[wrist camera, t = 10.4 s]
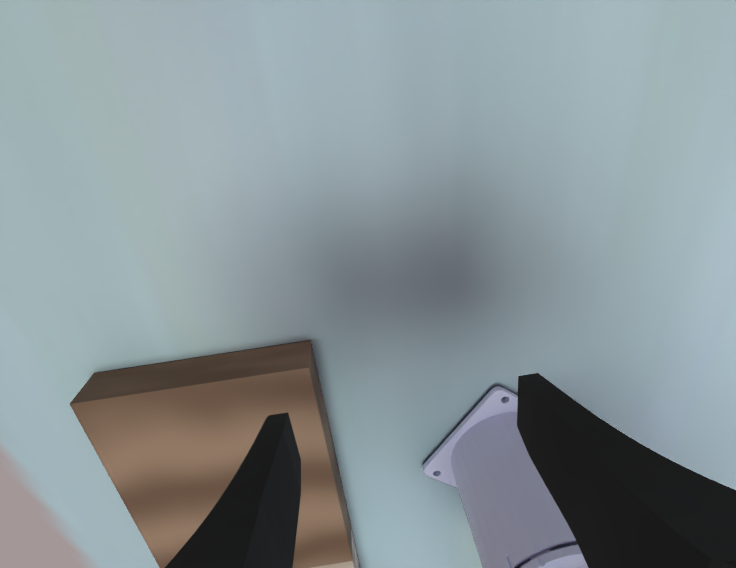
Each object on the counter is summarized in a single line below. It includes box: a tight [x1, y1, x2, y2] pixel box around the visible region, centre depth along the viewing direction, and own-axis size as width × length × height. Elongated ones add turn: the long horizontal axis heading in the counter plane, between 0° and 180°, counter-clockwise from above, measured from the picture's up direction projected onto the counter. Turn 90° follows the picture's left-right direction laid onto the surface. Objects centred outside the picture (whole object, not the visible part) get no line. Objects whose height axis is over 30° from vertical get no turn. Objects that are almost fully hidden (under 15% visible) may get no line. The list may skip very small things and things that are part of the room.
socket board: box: [70, 340, 360, 568], centre depth 28 cm, size 24×12×2 cm, turn 7°
